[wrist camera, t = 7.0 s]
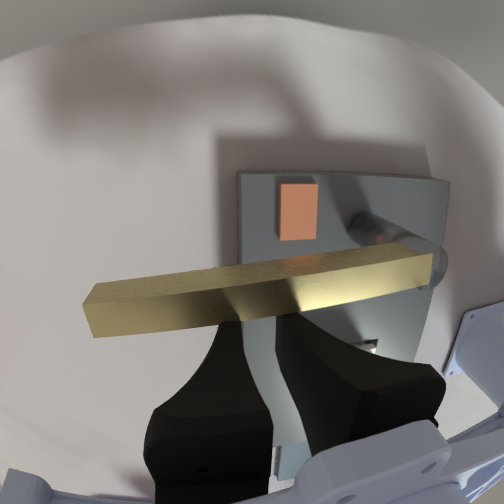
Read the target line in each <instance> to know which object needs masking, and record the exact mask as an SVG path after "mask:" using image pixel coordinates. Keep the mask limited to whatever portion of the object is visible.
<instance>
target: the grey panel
mask: <svg viewBox="0 0 504 504" xmlns="http://www.w3.org/2000/svg"><path fill="white" fill-rule="evenodd" d="M449 188H450V182H449V181H445V180H441V179H436V178H432V177H421V176H409V175H395V174H379V173H360V172H334V171H237V214H238V265H240V264H247V263H254V262H262V261H269V260H276V259H283V258H290V257H297V256H304V255H311V254H318V253H325V252H332V251H339V250H345V249H352V248H359V247H360V246H359V245H357V244H356V243H354V242H353V241H352V240H351V238H350V236H349V233H348V227H349V223H350V221H351V219H352V218H353V217H354V215H356V214H357V213H359V212H362V211H368V212H371V213H373V214H375V215H377V216H379V217H381V218H384V219H386V220H388V221H390V222H392V223H394V224H396V225H398V226H400V227H402V228H404V229H406V230H408V231H410V232H412V233H414V234H416V235H418V236H420V237H422V238H424V239H426V240H428V241H430V242H432V243H434V244H436V245H438V246H440V247H442V243H443V237H444V230H445V223H446V216H447V207H448V198H449ZM433 289H434V288H433ZM433 289H431V290H427V291H422V290H419V289H418V288H416V287H415V288H411V289H407V290H403V291H398V292H394V293H390V294H385V295H381V296H376V297H371V298H367V299H362V300H357V301H353V302H348V303H343V304H338V305H333V306H328V307H322V308H317V309H312V310H306V311H301V312H298V313H300V314H301V315H302V316H304V317H305V318H307V319H308V320H309V321H311V322H312V323H314V324H315V325H317V326H318V327H320V328H321V329H323V330H325V331H326V332H328V333H329V334H331V335H333V336H335V337H337V338H338V339H340V340H342V341H344V342H346V343H348V344H351V343H356V342H362V341H364V342H365V344H372V343H373V344H374V346H375V347H376V351H375V354H377V355H380V356H383V357H387V358H391V359H396V360H400V361H406V362H414V358H415V355H416V352H417V349H418V346H419V342H420V339H421V336H422V332H423V329H424V325H425V321H426V318H427V314H428V310H429V306H430V302H431V298H432V294H433ZM241 326H242V337H243V347H244V352H245V356H246V359H247V362H248V365H249V368H250V371H251V374H252V376H253V379H254V381H255V384H256V386H257V388H258V390H259V393H260V394H261V396H262V398H263V400H264V402H265V404H266V405H267V407H268V409H269V411H270V414H271V417H272V421H273V425H274V433H273V447H278V446H284V445H290V444H296V443H301V442H306V441H307V438H306V434H305V431H304V428H303V424H302V421H301V418H300V415H299V413H298V410H297V408H296V406H295V403H294V401H293V399H292V396H291V394H290V392H289V390H288V387H287V385H286V383H285V380H284V378H283V376H282V373H281V371H280V368H279V364H278V360H277V356H276V353H275V337H276V316H272V317H266V318H259V319H253V320H247V321H241Z"/></svg>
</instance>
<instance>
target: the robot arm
mask: <svg viewBox="0 0 504 504" xmlns="http://www.w3.org/2000/svg"><path fill="white" fill-rule="evenodd" d="M275 353H276V356H277V360H278V364H279V368H280V371H281V373H282V376H283V378H284V380H285V383H286V385H287V387H288V390H289V392H290V394H291V396H292V399H293V401H294V403H295V406H296V408H297V410H298V413H299V415H300V418H301V421H302V424H303V428H304V431H305V434H306V438H307V441H308V445H309V449H310V452H311V456H312V458H310V459H309V460H307V461H306V462H305V463H304V464H303V465H302V467H301V468H300V470H299V471H298V473H297V474H296V476H295V481H294V485H293V486H292V487H289V488H286V489H283V490H280V491H276V492H273V493H270V494H268V486H269V477H270V475H271V462H272V448H273V433H274V425H273V421H272V417H271V414H270V411H269V409H268V407H267V405H266V404H265V402H264V400H263V398H262V396H261V394H260V393H259V390H258V388H257V386H256V384H255V381H254V379H253V376H252V374H251V371H250V368H249V365H248V362H247V359H246V356H245V352H244V347H243V337H242V326H241V321H228V322H221V323H220V324H219V327H218V330H217V333H216V336H215V338H214V341H213V343H212V346H211V348H210V350H209V352H208V354H207V355H206V357H205V359H204V361H203V362H202V364H201V365H200V367H199V368H198V370H197V371H196V372H195V373H194V375H193V376H192V377H191V379H190V380H189V381H188V382H187V383H186V384H185V385H184V386H183V387H182V388H181V389H180V390H179V391H178V392H177V393H176V394H175V395H174V396H173V397H171V398H170V399H169V400H167V401H166V402H165V403H163V404H162V405H160V406H159V407H157V408H156V409H155V410H154V411H153V414H152V416H151V419H150V421H149V424H148V427H147V431H146V435H145V441H144V451H143V457H144V461H145V464H146V466H147V468H148V470H149V472H150V474H151V476H152V478H153V480H154V482H155V502H139V501H125V500H115V499H106V498H98V497H91V496H84V495H78V494H72V493H67V492H62V491H57V490H52V488H51V487H50V485H49V484H48V483H47V482H46V481H45V480H44V479H43V478H41V477H39V476H37V475H34V474H30V473H26V472H23V471H19V470H15V469H12V468H10V469H8V472H7V475H6V478H5V481H4V484H3V487H2V490H1V493H0V504H471V503H470V502H471V501H473V500H474V499H476V498H477V497H478V496H480V495H481V494H482V493H484V492H485V491H486V490H488V489H489V488H490V487H491V486H493V485H494V484H495V483H497V482H498V481H499V480H500V479H501V478H503V477H504V301H503V302H500V303H496V304H493V305H490V306H486V307H482V308H479V309H475V310H472V311H468V312H466V313H465V314H464V317H463V320H462V323H461V326H460V329H459V332H458V335H457V338H456V341H455V344H454V347H453V350H452V352H451V355H450V358H449V360H448V363H447V366H446V368H445V371H444V373H443V376H444V377H445V378H447V377H450V376H452V375H455V374H458V373H460V372H464V373H465V374H466V375H467V376H468V377H469V378H470V379H471V380H472V381H473V382H474V383H475V384H476V385H477V386H478V387H479V388H480V389H481V390H482V391H483V392H484V393H485V394H486V395H487V396H488V397H489V398H490V399H491V400H492V401H493V403H494V404H495V405H496V406H497V407H498V408H499V409H498V412H496V413H495V414H493V415H491V416H490V417H488V418H486V419H485V420H483V421H481V422H480V423H478V424H476V425H474V426H472V427H471V428H469V429H467V430H465V431H463V432H461V433H459V434H457V435H456V436H454V437H452V438H450V439H448V440H445V438H444V437H443V436H442V434H441V433H440V432H439V430H438V429H437V428H438V426H439V425H438V422H437V421H436V420H435V418H434V416H435V414H436V412H437V410H438V408H439V406H440V404H441V402H442V400H443V397H444V394H445V391H446V383H445V380H444V379H443V378H442V376H441V375H440V374H439V373H438V372H437V371H436V370H435V369H434V368H433V367H432V366H431V365H430V364H422V363H413V362H406V361H400V360H396V359H391V358H387V357H383V356H380V355H377V354H374V353H370V352H367V351H365V350H362V349H360V348H357V347H355V346H353V345H350V344H348V343H346V342H344V341H342V340H340V339H338V338H337V337H335V336H333V335H331V334H329V333H328V332H326V331H325V330H323V329H321V328H320V327H318V326H317V325H315V324H314V323H312V322H311V321H309V320H308V319H307V318H305V317H304V316H302V315H301V314H300V313H298V312H295V313H289V314H284V315H278V316H276V337H275Z"/></svg>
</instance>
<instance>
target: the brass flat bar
mask: <svg viewBox="0 0 504 504" xmlns="http://www.w3.org/2000/svg"><path fill="white" fill-rule="evenodd" d="M348 233H349V236H350V238H351V240H352V241H353V242H354V243H356V244H357V245H359V246H360V247H359V248H352V249H345V250H339V251H332V252H325V253H318V254H311V255H304V256H297V257H290V258H283V259H276V260H269V261H262V262H254V263H247V264H240V265H233V266H226V267H218V268H211V269H203V270H196V271H189V272H181V273H174V274H166V275H158V276H151V277H143V278H135V279H128V280H120V281H112V282H104V283H96V284H95V285H94V287H93V289H92V290H91V292H90V293H89V295H88V296H87V298H86V299H85V301H84V303H83V304H82V306H83V309H84V312H85V315H86V318H87V321H88V323H89V326H90V329H91V332H92V334H93V337H94V338H99V337H111V336H123V335H134V334H144V333H154V332H163V331H172V330H180V329H189V328H197V327H204V326H212V325H219V324H220V323H221V322H228V321H247V320H253V319H259V318H266V317H272V316H278V315H284V314H289V313H295V312H301V311H306V310H312V309H317V308H322V307H328V306H333V305H338V304H343V303H348V302H353V301H357V300H362V299H367V298H371V297H376V296H381V295H385V294H390V293H394V292H398V291H403V290H407V289H411V288H415V287H416V288H418V289H419V290H422V291H427V290H431V289H433V288H434V287H435V286H437V285H438V284H439V283H440V281H441V280H442V279H443V277H444V275H445V273H446V270H447V265H448V257H447V254H446V252H445V250H444V249H443V248H442V247H440V246H438V245H436V244H434V243H432V242H430V241H428V240H426V239H424V238H422V237H420V236H418V235H416V234H414V233H412V232H410V231H408V230H406V229H404V228H402V227H400V226H398V225H396V224H394V223H392V222H390V221H388V220H386V219H384V218H381V217H379V216H377V215H375V214H373V213H371V212H368V211H362V212H359V213H357V214H356V215H354V217H353V218H352V219H351V221H350V223H349V227H348Z"/></svg>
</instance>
